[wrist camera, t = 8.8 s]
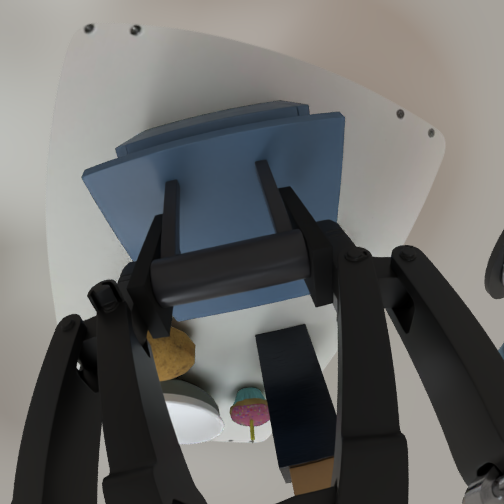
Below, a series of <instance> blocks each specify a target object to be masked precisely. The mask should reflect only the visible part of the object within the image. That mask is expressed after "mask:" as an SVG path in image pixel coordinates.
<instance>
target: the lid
mask: <svg viewBox="0 0 504 504" xmlns="http://www.w3.org/2000/svg"><path fill="white" fill-rule="evenodd" d="M344 128H345V117H344V116H343V115H342V114H341V113H340V112H330V113H320V114H311V115H303V116H295V117H288V118H281V119H275V120H268V121H262V122H257V123H251V124H246V125H241V126H235V127H230V128H226V129H221V130H216V131H212V132H208V133H203V134H199V135H195V136H191V137H187V138H183V139H179V140H175V141H172V142H168V143H165V144H161V145H157V146H154V147H151V148H147V149H144V150H141V151H138V152H134V153H131V154H128V155H125V156H122V157H119V158H116V159H113V160H110V161H107V162H105V163H102V164H99V165H96V166H94V167H91V168H88V169H86V170H85V171H84V173H83V175H82V180H83V181H84V183H85V185H86V187H87V188H88V190H89V192H90V194H91V195H92V197H93V199H94V200H95V202H96V204H97V205H98V207H99V209H100V210H101V212H102V214H103V215H104V217H105V219H106V220H107V222H108V223H109V225H110V227H111V228H112V230H113V231H114V233H115V234H116V236H117V237H118V239H119V241H120V242H121V244H122V245H123V247H124V248H125V250H126V251H127V253H128V254H129V256H130V257H131V259H132V260H133V262H134V261H137V258H138V256H139V253H140V251H141V248H142V246H143V243H144V241H145V238H146V236H147V233H148V231H149V228H150V226H151V224H152V221H153V219H154V217H155V215H159V214H163V218H162V234H161V255H160V259H155V260H153V261H152V263H151V267H150V279H151V285H152V289H153V293H154V295H155V298H156V300H157V302H158V303H159V305H160V306H161V307H164V308H165V307H171V306H173V314H172V315H173V317H174V318H175V319H176V320H177V321H184V320H189V319H195V318H200V317H206V316H211V315H216V314H221V313H226V312H231V311H236V310H241V309H246V308H251V307H256V306H261V305H265V304H270V303H274V302H279V301H283V300H288V299H292V298H296V297H301V296H305V295H309V294H310V293H309V290H308V288H307V286H306V283H305V281H304V279H306V278H309V277H310V273H311V266H310V258H309V253H308V248H307V245H306V241H305V238H304V236H303V234H302V232H301V230H300V229H294V230H293V228H292V225H291V222H290V219H289V217H288V214H287V211H286V209H285V206H284V203H283V201H282V198H281V195H280V193H279V190H278V188H282V187H287V186H291V188H292V189H293V190H294V192H295V193H296V194H297V196H298V197H299V199H300V200H301V201H302V203H303V204H304V205H305V207H306V208H307V210H308V211H309V212H310V214H311V215H312V217H313V218H314V219H315V221H316V222H317V221H322V220H327V219H330V220H332V221H334V222H336V223H337V215H338V205H339V196H340V185H341V173H342V161H343V146H344ZM180 251H181V254H180Z"/></svg>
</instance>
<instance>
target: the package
mask: <svg viewBox="0 0 504 504" xmlns="http://www.w3.org/2000/svg"><path fill="white" fill-rule="evenodd" d="M333 465H334V457H333V458H330V459H326V460H323V461H319V462H315V463H312V464H308V465H304V466H299V467H295V468H291V469H289V470H290V475H291V480H292V484H293V489H294V494H295V495H299V494H304V493H309V492H313V491H317V490H321V489H325V488H329V487H331V479H332V472H333Z"/></svg>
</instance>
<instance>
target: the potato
mask: <svg viewBox="0 0 504 504" xmlns="http://www.w3.org/2000/svg"><path fill="white" fill-rule="evenodd" d="M146 338H147V340H148V341H149V343H150V345H151V349H152V353H153V357H154V361H155V365H156V369H157V373H158V377H159V381H165V380H171V379H173V378H175V377H178V376H180V375H182V374H185V373H186V372H187V371H188V370H189V369H190V368H191V367H192V366H193V364H194V362H195V344H194V343H193V342H192V340H191V339H190V338H189V337H188V336H187V334H186V333H184V332H182V331H180V330H178V329H176V328H174V327H171V330H170V336H169V337H163V338H156V339H153V338H152V336H151V334H150V332H149V331H148V332H147V337H146Z"/></svg>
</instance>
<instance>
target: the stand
mask: <svg viewBox="0 0 504 504" xmlns="http://www.w3.org/2000/svg"><path fill="white" fill-rule="evenodd" d="M255 337H256V343H257V349H258V355H259V360H260V366H261V372H262V377H263V383H264V389H265V394H266V400H267V405H268V411H269V416H270V422H271V427H272V433H273V438H274V443H275V449H276V454H277V460H278V465H279V469H280V471H281V473H282V476H283V478H284V480H285V482H286V483H291V482H292V480H291V475H290V470H289V469H291V468H295V467H299V466H304V465H308V464H312V463H315V462H319V461H323V460H326V459H330V458H333V457H334V453H335V439H336V422H337V415H336V413H335V409H334V406H333V403H332V400H331V398H330V394H329V391H328V389H327V385H326V383H325V380H324V377H323V374H322V371H321V368H320V365H319V362H318V359H317V356H316V353H315V351H314V348H313V345H312V342H311V339H310V336H309V334H308V331H307V328H306V325H305V324H303V325H299V326H294V327H290V328H286V329H281V330H277V331H272V332H268V333H263V334H258V335H255Z"/></svg>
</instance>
